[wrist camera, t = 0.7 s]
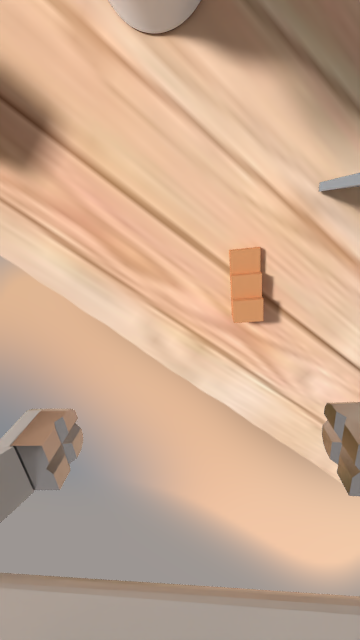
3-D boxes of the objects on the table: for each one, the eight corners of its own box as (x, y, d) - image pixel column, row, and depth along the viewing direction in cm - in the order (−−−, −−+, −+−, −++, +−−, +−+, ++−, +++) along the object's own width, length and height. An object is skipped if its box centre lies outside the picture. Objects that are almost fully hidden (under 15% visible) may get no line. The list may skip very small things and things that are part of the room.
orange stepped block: (258, 312, 48) (263, 321, 44) (231, 314, 49) (233, 323, 45) (259, 246, 44) (264, 250, 40) (229, 249, 44) (231, 253, 41)
